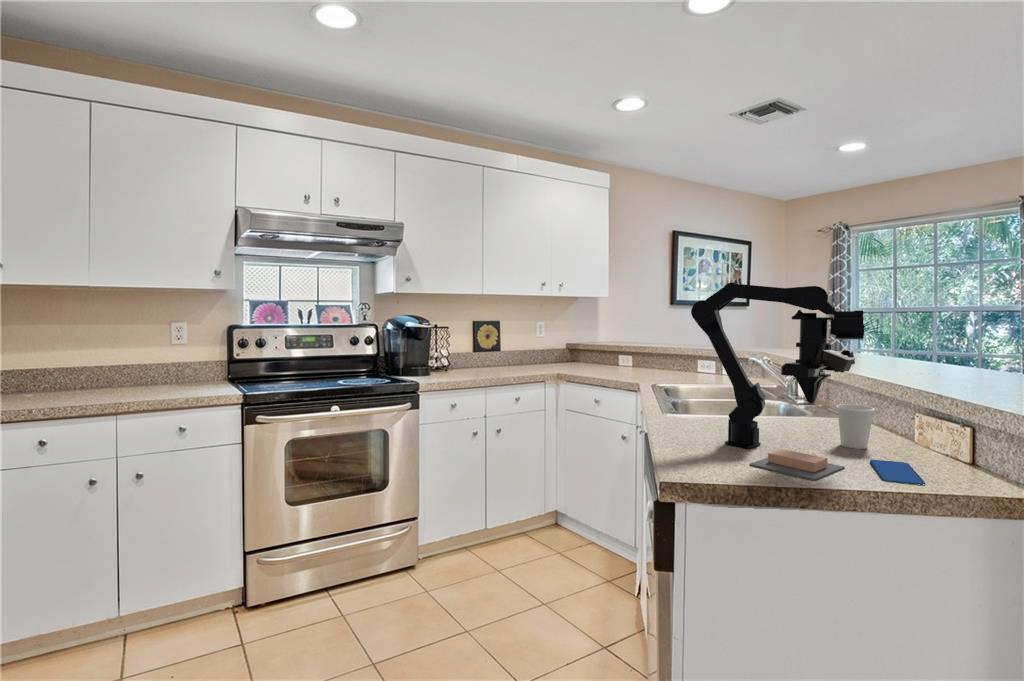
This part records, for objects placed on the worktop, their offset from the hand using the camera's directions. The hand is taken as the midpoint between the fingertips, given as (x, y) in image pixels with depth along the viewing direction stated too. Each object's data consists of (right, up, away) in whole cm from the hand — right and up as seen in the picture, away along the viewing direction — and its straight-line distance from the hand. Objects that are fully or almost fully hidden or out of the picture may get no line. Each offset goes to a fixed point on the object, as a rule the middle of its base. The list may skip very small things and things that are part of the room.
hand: (811, 403), depth 133 cm
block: (-7, -11, -10) cm, 16 cm away
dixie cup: (+14, -12, +7) cm, 20 cm away
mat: (-10, -13, -12) cm, 20 cm away
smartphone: (+9, -14, -16) cm, 23 cm away
